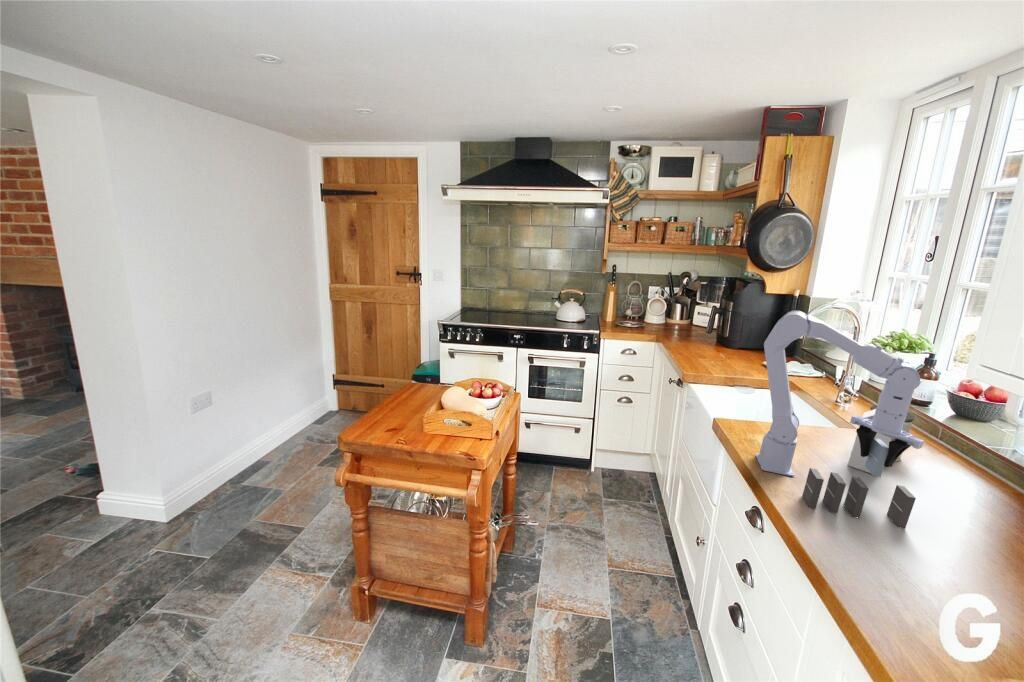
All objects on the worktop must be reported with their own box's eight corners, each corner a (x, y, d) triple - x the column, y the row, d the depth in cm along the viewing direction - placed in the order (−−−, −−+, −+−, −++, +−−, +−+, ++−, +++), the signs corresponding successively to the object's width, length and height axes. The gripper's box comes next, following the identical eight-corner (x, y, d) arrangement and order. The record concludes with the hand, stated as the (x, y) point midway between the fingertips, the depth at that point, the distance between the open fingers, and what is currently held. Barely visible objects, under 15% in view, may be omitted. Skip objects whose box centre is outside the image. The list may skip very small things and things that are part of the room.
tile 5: (897, 526, 101) (907, 496, 99) (886, 514, 106) (896, 484, 104) (905, 528, 101) (916, 498, 99) (894, 515, 106) (904, 486, 104)
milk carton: (847, 466, 128) (865, 405, 123) (850, 458, 133) (867, 399, 128) (878, 476, 124) (898, 414, 119) (880, 467, 129) (899, 407, 124)
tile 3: (851, 516, 104) (860, 487, 102) (843, 504, 109) (852, 476, 107) (859, 518, 104) (868, 488, 101) (850, 506, 108) (859, 477, 106)
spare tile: (873, 475, 110) (882, 446, 108) (864, 466, 114) (873, 437, 112) (880, 477, 109) (889, 448, 107) (871, 467, 114) (880, 439, 112)
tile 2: (829, 512, 105) (838, 482, 103) (822, 500, 110) (830, 471, 108) (837, 513, 105) (846, 484, 103) (829, 501, 109) (838, 473, 107)
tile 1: (808, 507, 106) (816, 478, 104) (802, 496, 111) (809, 467, 109) (815, 509, 106) (824, 479, 104) (809, 497, 111) (816, 469, 109)
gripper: (849, 401, 112) (835, 449, 115) (919, 425, 99) (901, 479, 103) (865, 398, 115) (851, 445, 118) (934, 422, 102) (917, 474, 106)
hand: (875, 461), depth 111 cm, fingers closed on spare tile, 5 cm apart
